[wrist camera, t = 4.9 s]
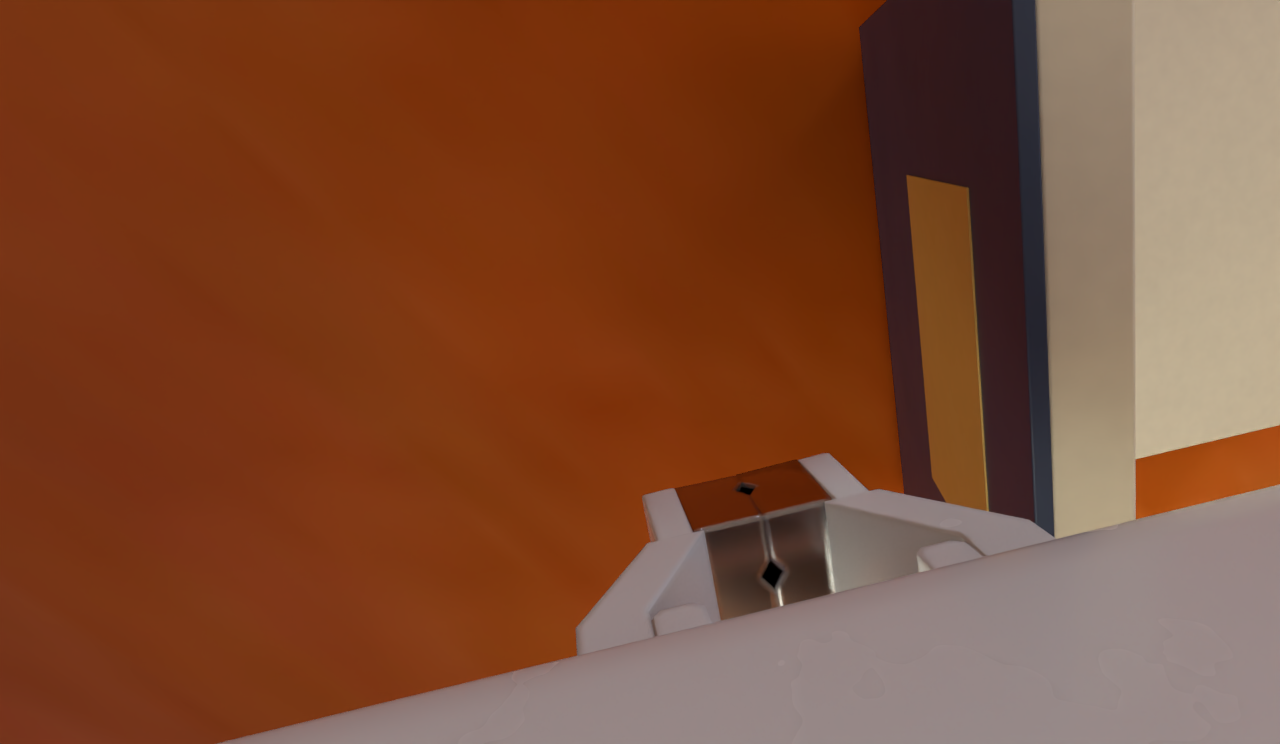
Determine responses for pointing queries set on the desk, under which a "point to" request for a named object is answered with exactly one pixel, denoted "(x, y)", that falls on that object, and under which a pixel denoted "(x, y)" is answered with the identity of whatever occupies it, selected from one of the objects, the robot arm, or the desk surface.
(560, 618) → the desk surface
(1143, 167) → the book
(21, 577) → the desk surface
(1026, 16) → the book cover
